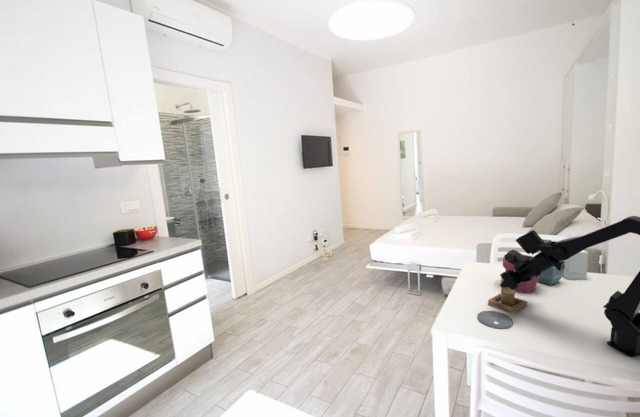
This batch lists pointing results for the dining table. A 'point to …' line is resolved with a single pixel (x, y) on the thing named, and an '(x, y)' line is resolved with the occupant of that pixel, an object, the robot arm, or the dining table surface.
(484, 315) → the slate coaster
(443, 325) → the dining table surface
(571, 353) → the dining table surface
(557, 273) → the flower pot
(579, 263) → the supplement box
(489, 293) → the dining table surface
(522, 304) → the pocket frame
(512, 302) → the oak post
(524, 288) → the plant pot
